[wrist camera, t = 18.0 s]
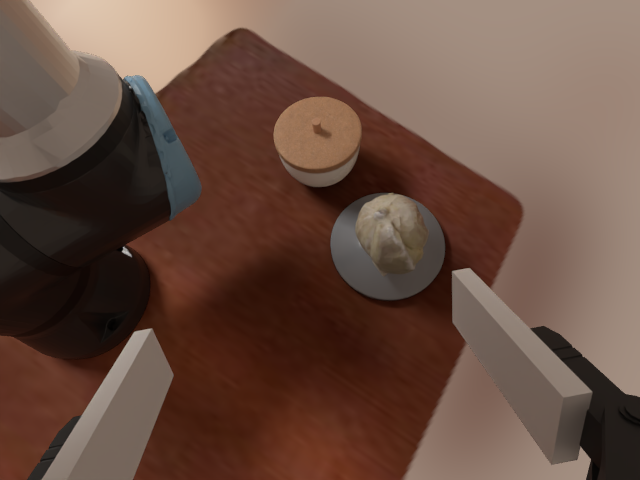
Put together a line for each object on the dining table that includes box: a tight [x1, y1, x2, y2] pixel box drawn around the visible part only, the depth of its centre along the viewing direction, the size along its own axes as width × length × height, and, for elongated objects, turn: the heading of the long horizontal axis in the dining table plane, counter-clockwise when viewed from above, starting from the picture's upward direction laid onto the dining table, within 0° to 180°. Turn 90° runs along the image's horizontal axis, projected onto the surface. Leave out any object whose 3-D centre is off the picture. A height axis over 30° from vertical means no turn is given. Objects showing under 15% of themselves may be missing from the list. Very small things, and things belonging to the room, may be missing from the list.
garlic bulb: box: [355, 193, 429, 276], centre depth 38 cm, size 9×8×10 cm
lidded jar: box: [274, 97, 362, 187], centre depth 44 cm, size 11×11×9 cm
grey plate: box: [331, 193, 445, 301], centre depth 43 cm, size 14×14×1 cm
